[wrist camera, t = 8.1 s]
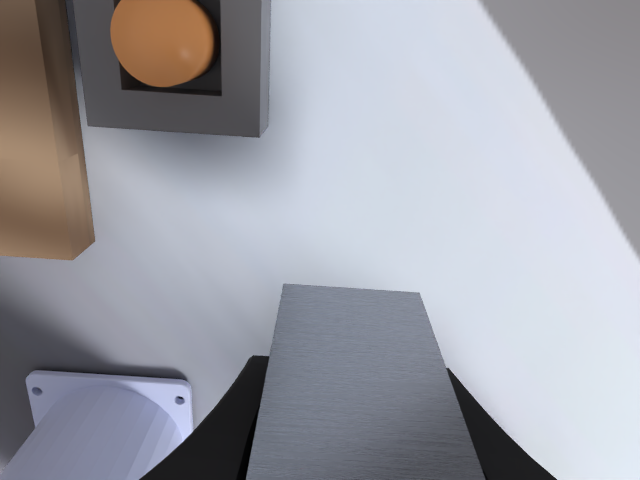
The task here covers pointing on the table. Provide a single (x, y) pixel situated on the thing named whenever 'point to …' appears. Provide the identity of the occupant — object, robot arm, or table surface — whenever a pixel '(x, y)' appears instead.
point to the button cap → (164, 40)
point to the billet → (358, 393)
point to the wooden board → (40, 136)
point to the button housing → (189, 97)
